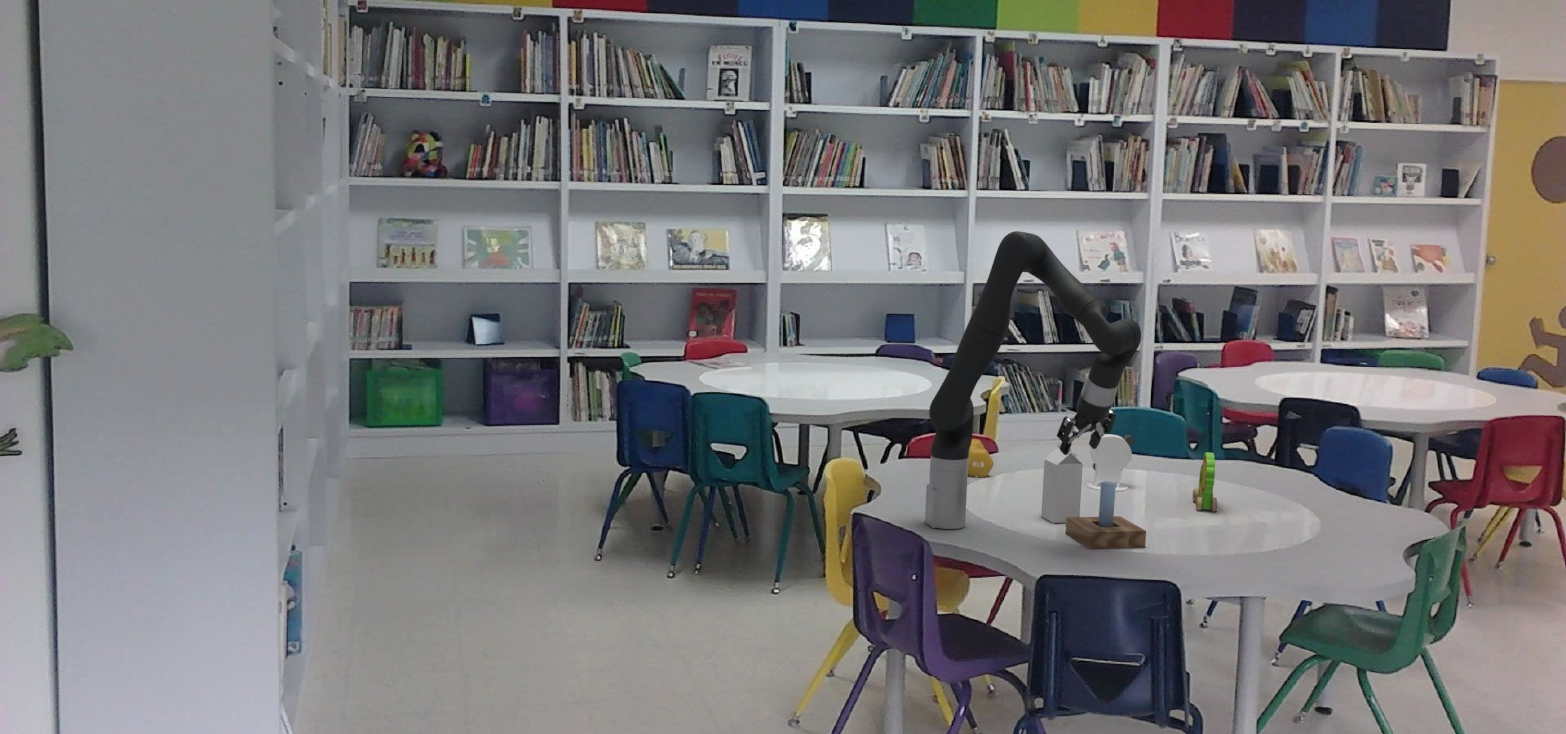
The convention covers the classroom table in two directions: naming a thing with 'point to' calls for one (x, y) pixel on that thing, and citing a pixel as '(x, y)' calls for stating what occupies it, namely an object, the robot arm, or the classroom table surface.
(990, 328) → the robot arm
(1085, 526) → the socket
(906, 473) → the classroom table surface
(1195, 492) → the toy lion
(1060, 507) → the milk carton
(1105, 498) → the peg
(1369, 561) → the classroom table surface
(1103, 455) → the panda figurine
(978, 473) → the dumbbell
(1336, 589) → the classroom table surface
